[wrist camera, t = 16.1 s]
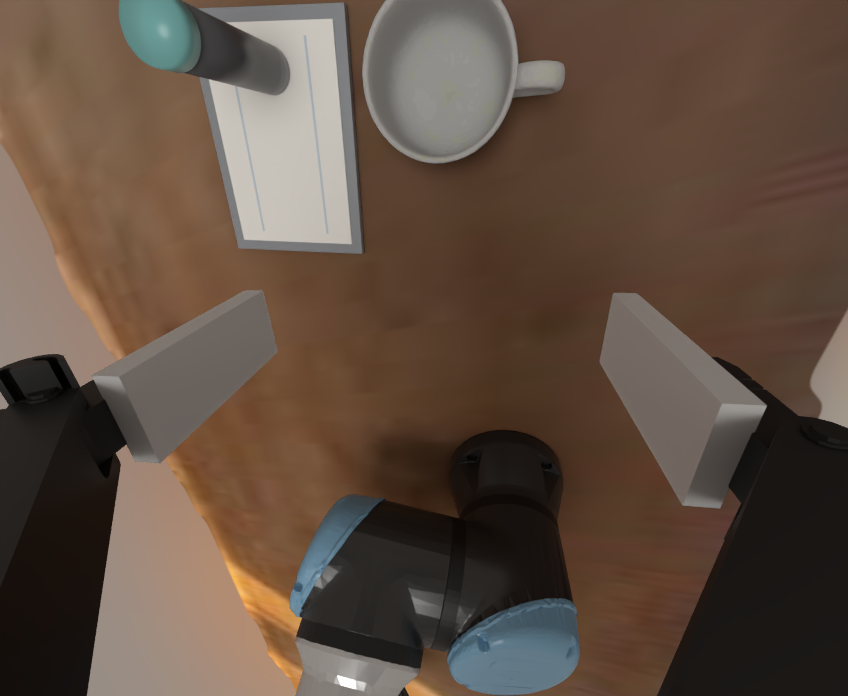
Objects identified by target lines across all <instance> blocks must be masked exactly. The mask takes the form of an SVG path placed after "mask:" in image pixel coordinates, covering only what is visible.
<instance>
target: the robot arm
mask: <svg viewBox="0 0 848 696" xmlns="http://www.w3.org/2000/svg"><path fill="white" fill-rule="evenodd" d="M277 352H278V351H277V347H276V343H275V338H274V334H273V330H272V326H271V322H270V318H269V314H268V309H267V305H266V301H265V297H264V293H263V290H245V291H243V292H241V293H239V294H238V295H236V296H234V297H232V298H230V299H229V300H227V301H225V302H223V303H221V304H220V305H218V306H216V307H214V308H212V309H211V310H209V311H207V312H205V313H203V314H202V315H200V316H198V317H196V318H194V319H192V320H191V321H189V322H187V323H185V324H183V325H182V326H180V327H178V328H176V329H174V330H173V331H171V332H169V333H167V334H165V335H164V336H162V337H160V338H158V339H156V340H155V341H153V342H151V343H149V344H147V345H146V346H144V347H142V348H140V349H138V350H137V351H135V352H133V353H131V354H129V355H128V356H126V357H124V358H122V359H120V360H118V361H117V362H115V363H113V364H111V365H110V366H108V367H106V368H104V369H102V370H101V371H99V372H97V373H95V374H94V375H92V378H93V380H92V381H90V382H88V383H87V384H85V385H83V386H81V387H80V386H79V384H78V382H77V380H76V378H75V377H74V375H73V373H72V371H71V369H70V367H69V366H68V364H67V362H66V360H65V358H64V356H62V355H59V354H48V355H42V356H36V357H32V358H27V359H24V360H20V361H17V362H15V363H12V364H9V365H7V366H4V367H2V368H0V392H1V393H2V395H3V396H4V398H5V400H6V401H7V403H8V404H9V406H8V407H7V409H1V410H0V696H87V690H88V683H89V676H90V669H91V663H92V656H93V649H94V643H95V636H96V629H97V622H98V615H99V608H100V601H101V595H102V588H103V581H104V574H105V568H106V561H107V554H108V547H109V541H110V534H111V526H112V521H113V514H114V507H115V500H116V493H117V486H118V480H119V473H120V466H121V464H120V461H119V459H118V457H117V455H116V452H117V451H119V450H120V449H121V448H122V447H124V446H125V445H126V444H127V446H128V448H129V450H130V452H131V454H132V456H133V458H134V460H135V462H148V463H161V462H162V461H163V460H164V459H165V458H166V457H167V456H168V455H169V454H170V453H172V452H173V451H174V450H175V449H176V448H177V447H178V446H179V445H180V444H181V443H182V442H183V441H184V440H185V439H186V438H187V437H188V436H190V435H191V434H192V433H193V432H194V431H195V430H196V429H197V428H198V427H199V426H200V425H201V424H202V423H203V422H204V421H205V420H206V419H207V418H209V417H210V416H211V415H212V414H213V413H214V412H215V411H216V410H217V409H218V408H219V407H220V406H221V405H222V404H223V403H224V402H225V401H227V400H228V399H229V398H230V397H231V396H232V395H233V394H234V393H235V392H236V391H237V390H238V389H239V388H240V387H241V386H242V385H243V384H245V383H246V382H247V381H248V380H249V379H250V378H251V377H252V376H253V375H254V374H255V373H256V372H257V371H258V370H259V369H260V368H261V367H262V366H264V365H265V364H266V363H267V362H268V361H269V360H270V359H271V358H272V357H273V356H274V355H275V354H276V353H277ZM600 364H601V366H602V368H603V369H604V371H605V373H606V374H607V376H608V378H609V380H610V381H611V383H612V385H613V387H614V388H615V390H616V392H617V393H618V395H619V397H620V399H621V400H622V402H623V404H624V406H625V407H626V409H627V411H628V412H629V414H630V416H631V418H632V419H633V421H634V423H635V424H636V426H637V428H638V430H639V431H640V433H641V435H642V437H643V438H644V440H645V442H646V443H647V445H648V447H649V449H650V450H651V452H652V454H653V456H654V457H655V459H656V461H657V462H658V464H659V466H660V468H661V469H662V471H663V473H664V474H665V476H666V478H667V480H668V481H669V483H670V485H671V487H672V488H673V490H674V492H675V493H676V495H677V497H678V499H679V500H680V502H681V504H682V505H684V506H696V507H709V508H721V505H722V503H723V501H724V499H725V497H726V494H727V492H728V490H729V488H730V489H731V490H732V492H733V493H734V494H735V496H736V497H737V498H738V500H739V501H740V502H741V505H740V507H739V509H738V511H737V513H736V515H735V517H734V519H733V521H732V523H731V526H730V528H729V530H728V532H727V534H726V536H725V538H724V539H725V541H724V543H723V545H722V548H721V550H720V552H719V554H718V557H717V559H716V561H715V564H714V566H713V568H712V571H711V573H710V575H709V577H708V580H707V582H706V584H705V587H704V589H703V591H702V594H701V596H700V598H699V601H698V603H697V605H696V607H695V610H694V612H693V614H692V617H691V619H690V621H689V624H688V626H687V628H686V630H685V633H684V635H683V637H682V640H681V642H680V644H679V647H678V649H677V651H676V653H675V656H674V658H673V660H672V663H671V665H670V667H669V670H668V672H667V674H666V677H665V679H664V681H663V683H662V686H661V688H660V690H659V693H658V695H657V696H848V428H846V427H843V426H841V425H838V424H835V423H833V422H829V421H825V420H821V419H817V418H813V417H803V416H798V415H797V414H795V413H794V412H793V411H792V410H790V409H789V408H788V407H787V406H785V405H784V404H783V403H782V402H781V401H779V400H778V399H777V398H776V397H774V396H773V395H772V394H771V393H769V392H768V391H767V390H763V387H762V386H761V385H760V384H758V383H757V382H756V381H755V380H752V378H751V377H750V376H748V375H747V374H746V373H745V372H744V371H742V370H741V369H740V368H739V367H737V366H735V365H733V364H731V363H729V362H727V361H724V360H722V359H720V358H718V357H710V356H709V355H708V354H707V353H706V352H704V351H703V350H702V349H701V348H700V347H699V346H697V345H696V344H695V343H694V342H693V341H692V340H690V339H689V338H688V337H687V336H686V335H685V334H684V333H682V332H681V331H680V330H679V329H678V328H677V327H675V326H674V325H673V324H672V323H671V322H670V321H668V320H667V319H666V318H665V317H664V316H663V315H662V314H660V313H659V312H658V311H657V310H656V309H655V308H653V307H652V306H651V305H650V304H649V303H648V302H646V301H645V300H644V299H643V298H642V297H641V296H640V295H638V294H637V293H613V296H612V301H611V306H610V311H609V316H608V321H607V326H606V331H605V337H604V342H603V347H602V352H601V357H600ZM449 484H450V489H451V492H452V495H453V499H454V502H455V506H456V509H457V513H458V516H459V518H454V517H451V516H447V515H443V514H439V513H435V512H430V511H426V510H422V509H418V508H414V507H410V506H406V505H402V504H398V503H394V502H390V501H386V499H385V498H378V499H377V498H372V497H366V496H361V495H355V494H351V495H347V496H345V497H343V498H341V499H340V500H338V501H337V502H336V503H335V504H334V506H333V507H332V508H331V509H330V511H329V512H328V513H327V515H326V516H325V518H324V519H323V521H322V523H321V524H320V526H319V528H318V530H317V532H316V533H315V535H314V537H313V539H312V541H311V543H310V545H309V548H308V550H307V552H306V554H305V556H304V559H303V561H302V563H301V566H300V568H299V571H298V574H297V580H296V582H295V585H294V587H293V590H292V593H291V597H290V609H291V611H292V612H293V613H295V615H296V616H297V617H302V620H301V623H300V626H299V629H298V632H297V635H296V638H295V643H296V645H297V648H298V651H299V654H300V656H301V659H302V662H303V673H302V676H301V679H300V683H299V686H298V689H297V692H296V696H398V695H399V694H400V692H401V691H402V689H403V688H404V687H405V686H406V685H407V684H408V683H409V682H410V681H412V680H413V679H414V678H415V677H416V676H417V675H418V674H419V673H420V667H421V661H422V655H423V649H424V648H425V647H426V648H431V649H435V650H439V651H443V652H446V653H448V655H447V662H448V665H449V670H450V673H451V675H452V677H453V678H454V679H455V680H456V681H457V682H458V683H459V684H464V685H465V686H466V687H467V688H468V689H471V690H474V691H477V692H482V693H486V694H494V695H519V694H528V693H533V692H538V691H542V690H545V689H548V688H551V687H553V686H555V685H557V684H559V683H561V682H562V681H564V680H565V679H566V678H567V677H569V676H570V675H571V674H572V672H573V671H574V669H575V668H576V666H577V663H578V661H579V655H580V645H579V637H578V629H577V621H576V616H577V611H576V606H575V604H574V603H573V598H572V594H571V589H570V584H569V579H568V574H567V569H566V564H565V559H564V554H563V549H562V544H561V539H560V534H559V529H558V524H557V518H558V513H559V508H560V502H561V497H562V492H563V476H562V472H561V468H560V464H559V461H558V459H557V457H556V455H555V454H554V452H553V451H552V450H551V449H550V448H549V447H548V446H547V445H545V444H544V443H543V442H541V441H540V440H538V439H536V438H534V437H532V436H529V435H526V434H523V433H518V432H512V431H493V432H487V433H483V434H480V435H477V436H475V437H473V438H471V439H469V440H467V441H466V442H464V443H463V444H462V445H461V446H460V447H459V448H458V449H457V450H456V452H455V453H454V455H453V457H452V460H451V464H450V473H449Z"/></svg>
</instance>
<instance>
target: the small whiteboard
mask: <svg viewBox="0 0 848 696" xmlns="http://www.w3.org/2000/svg"><path fill="white" fill-rule="evenodd" d="M198 9H199V10H201V11H203V12H205V13H207V14H209V15H212V16H214V17H216V18H218V19H220V20H222V21H224V22H226V23H228V24H230V25H232V26H234V27H236V28H238V29H240V30H242V31H244V32H246V33H249V34H251V35H253V36H255V37H257V38H259V39H261V40H263V41H265V42H267V43H269V44H271V45H273V46H275V47H277V48H278V49H279V50H280V51H281V52H282V53H283V54H284V56H285V57H286V59H287V61H288V64H289V68H290V80H289V84H288V86H287V88H286V89H285V91H284V92H282V93H281V94H279V95H269V94H265V93H261V92H257V91H253V90H249V89H245V88H241V87H237V86H233V85H230V84H226V83H222V82H218V81H214V80H210V79H206V78H202V77H199V78H200V82H201V86H202V91H203V95H204V99H205V104H206V108H207V112H208V117H209V121H210V125H211V130H212V134H213V138H214V143H215V147H216V151H217V156H218V160H219V164H220V169H221V173H222V177H223V182H224V186H225V190H226V195H227V199H228V203H229V208H230V212H231V216H232V221H233V225H234V229H235V234H236V238H237V242H238V247H239V248H244V249H267V250H289V251H311V252H333V253H356V254H363V253H364V239H363V224H362V210H361V196H360V181H359V167H358V153H357V138H356V124H355V110H354V95H353V81H352V67H351V52H350V38H349V24H348V9H347V5H346V4H345V3H324V4H299V5H274V6H248V7H223V8H198Z"/></svg>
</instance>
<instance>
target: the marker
mask: <svg viewBox="0 0 848 696" xmlns="http://www.w3.org/2000/svg"><path fill="white" fill-rule="evenodd" d="M119 19H120V24H121V28H122V31H123V34H124V36H125V39H126V41H127V42H128V44H129V46H130V47H131V49H132V50H133V52H134V53H135V54H136V55H137V56H138V57H139V58H140V59H141V60H142V61H144V62H145V63H146V64H148V65H150V66H152V67H155V68H159V69H163V70H167V71H171V72H175V73H187V74H190V75H194V76H198V77H202V78H206V79H210V80H214V81H218V82H222V83H226V84H230V85H233V86H237V87H241V88H245V89H249V90H253V91H257V92H261V93H265V94H269V95H279V94H281V93H282V92H284V91H285V89H286V88H287V86H288V84H289V80H290V68H289V64H288V61H287V59H286V57H285V56H284V54H283V53H282V52H281V51H280V50H279V49H278V48H277V47H275V46H273V45H271V44H269V43H267V42H265V41H263V40H261V39H259V38H257V37H255V36H253V35H251V34H249V33H246V32H244V31H242V30H240V29H238V28H236V27H234V26H232V25H230V24H228V23H226V22H224V21H222V20H220V19H218V18H216V17H214V16H212V15H209V14H207V13H205V12H203V11H201V10H199V9H197V8H195V7H193V6H191V5H189V4H187V3H185V2H183V1H182V0H120V3H119Z"/></svg>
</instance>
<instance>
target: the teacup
mask: <svg viewBox="0 0 848 696" xmlns="http://www.w3.org/2000/svg"><path fill="white" fill-rule="evenodd" d="M362 77H363V87H364V93H365V98H366V102H367V106H368V109H369V111H370V114H371V116H372V118H373V120H374V122H375V124H376V126H377V127H378V129H379V131H380V132H381V133H382V134H383V136H384V137H385V138H386V139H387V140H388V141H389V143H390V144H391V145H392V146H394V147H395V148H396V149H397V150H399V151H400V152H401V153H403V154H405V155H406V156H408V157H410V158H412V159H415V160H418V161H421V162H426V163H434V164H440V163H448V162H453V161H456V160H459V159H462V158H464V157H467V156H469V155H471V154H472V153H474V152H476V151H477V150H478V149H480V148H481V147H482V146H483V145H484V144H485V143H486V142H488V141H489V139H490V138H491V137H492V136H493V135H494V133H495V132H496V131H497V130H498V128H499V127H500V125H501V124H502V122H503V120H504V118H505V116H506V114H507V112H508V109H509V107H510V105H511V101H512V98H515V97H524V96H535V95H545V94H552V93H556V92H558V91H560V89H561V88H562V86H563V83H564V80H565V67H564V65H563V64H562V63H560V62H558V61H549V60H540V61H531V62H525V63H520V64H518V49H517V41H516V35H515V30H514V27H513V24H512V21H511V19H510V16H509V14H508V11H507V9H506V8H505V6H504V4H503V3H502V1H501V0H386V1H385V2H384V3H383V5H382V6H381V8H380V9H379V11H378V13H377V14H376V17H375V19H374V21H373V23H372V26H371V29H370V31H369V34H368V38H367V42H366V46H365V50H364V58H363V69H362Z"/></svg>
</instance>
